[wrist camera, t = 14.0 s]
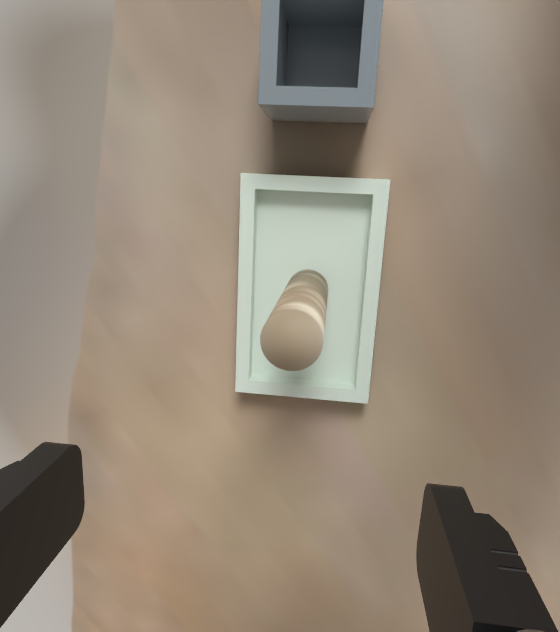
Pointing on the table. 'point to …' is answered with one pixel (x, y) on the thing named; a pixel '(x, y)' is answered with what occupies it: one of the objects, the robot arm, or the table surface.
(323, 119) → the slate box
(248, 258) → the sage tray
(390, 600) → the table surface
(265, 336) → the dowel
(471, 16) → the table surface
